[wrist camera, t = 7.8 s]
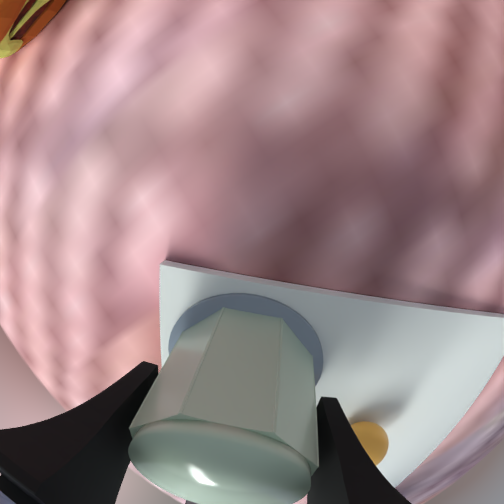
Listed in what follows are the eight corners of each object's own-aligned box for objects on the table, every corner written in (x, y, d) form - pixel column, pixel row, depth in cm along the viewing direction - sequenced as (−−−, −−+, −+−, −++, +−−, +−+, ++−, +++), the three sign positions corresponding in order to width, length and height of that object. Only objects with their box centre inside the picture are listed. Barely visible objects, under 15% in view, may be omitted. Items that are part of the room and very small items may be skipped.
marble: (370, 440, 14) (377, 478, 11) (325, 439, 14) (327, 480, 11) (392, 410, 13) (403, 452, 10) (342, 409, 13) (348, 454, 10)
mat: (393, 483, 17) (394, 487, 16) (174, 465, 18) (173, 470, 17) (517, 315, 11) (522, 319, 10) (164, 260, 12) (159, 264, 11)
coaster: (301, 418, 13) (301, 422, 13) (172, 393, 14) (170, 397, 14) (342, 308, 11) (343, 312, 11) (170, 277, 12) (168, 280, 11)
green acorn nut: (291, 413, 13) (286, 517, 7) (182, 392, 13) (140, 487, 8) (323, 324, 11) (341, 452, 5) (183, 298, 11) (111, 406, 6)
